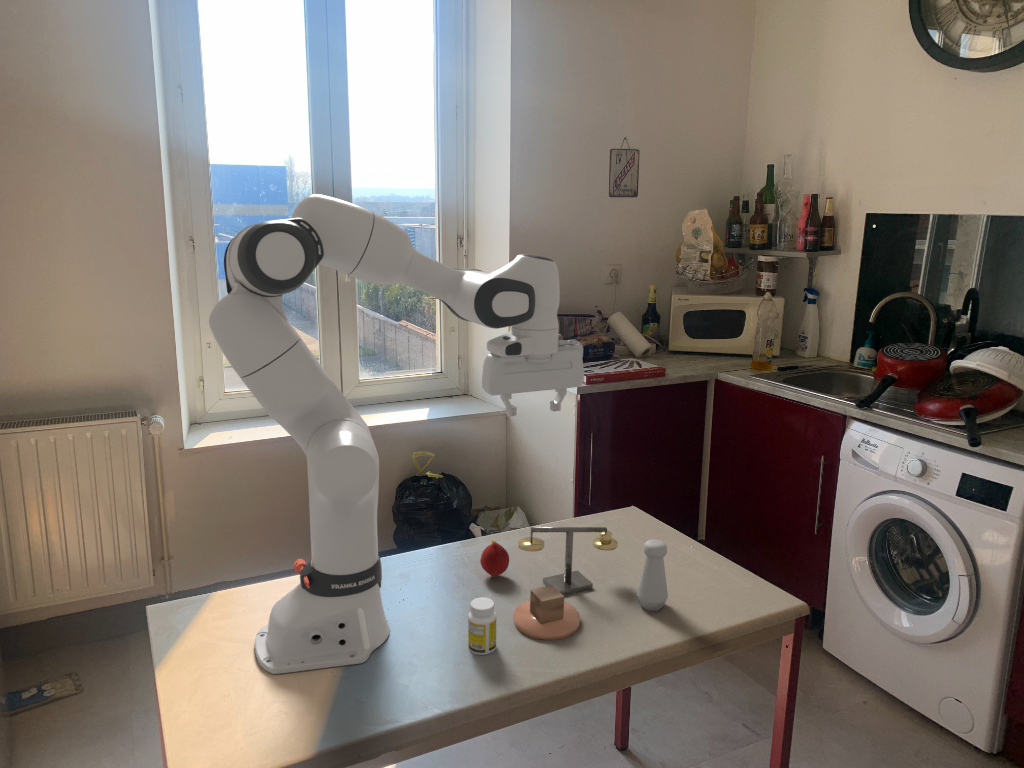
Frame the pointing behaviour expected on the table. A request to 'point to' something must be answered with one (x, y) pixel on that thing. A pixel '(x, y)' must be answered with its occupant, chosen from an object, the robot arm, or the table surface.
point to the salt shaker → (653, 577)
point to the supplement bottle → (482, 626)
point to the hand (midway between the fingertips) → (533, 413)
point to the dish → (548, 630)
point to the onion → (494, 559)
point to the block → (546, 604)
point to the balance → (569, 556)
